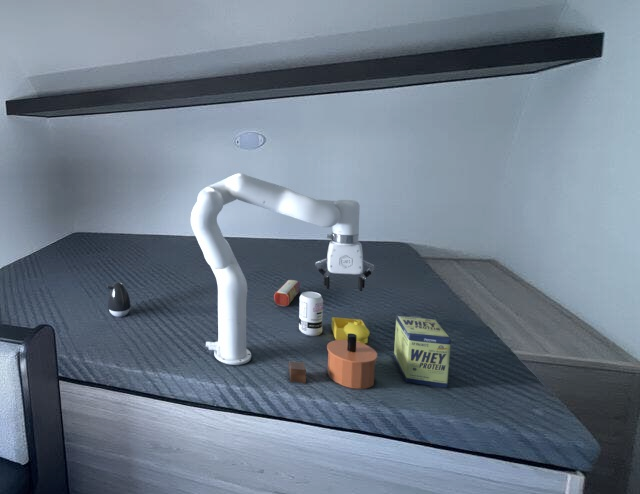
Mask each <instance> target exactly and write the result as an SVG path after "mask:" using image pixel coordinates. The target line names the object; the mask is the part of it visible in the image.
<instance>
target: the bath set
mask: <svg viewBox="0 0 640 494" xmlns="http://www.w3.org/2000/svg"><path fill="white" fill-rule="evenodd" d="M331 331H332V333H333V336H334V339H335V340H348V334H349V333H352V334H355V335H356V336H357V339H356V342H360V343H363V344H365V345H366V344H368V343H369V336H370V334H371V333H370V330H369V328H368V327H367V326H366V325H365V323H364V321H363V319H357V318H344V317H335V316H333V317H331Z"/></svg>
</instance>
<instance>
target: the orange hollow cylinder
mask: <svg viewBox="0 0 640 494" xmlns="http://www.w3.org/2000/svg"><path fill="white" fill-rule="evenodd" d="M327 375H328V377H329V378H330V379H331V380H332V381H333V382H335V383H336V384H338V385H341V386H343V387H346V388H349V389H354V390H355V389H356V390H365V389H369V388H371V387H373V386H374V384H375V379H376V378H375V375H376V360H375V361H373V362H371V363H352V362H348V361H344V360H341V359H339V358H337V357H335V356H333V355H332V354H331V353H329V351H328V350H327Z"/></svg>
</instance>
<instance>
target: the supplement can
mask: <svg viewBox="0 0 640 494" xmlns="http://www.w3.org/2000/svg"><path fill="white" fill-rule="evenodd" d="M298 303H299V305H298V307H299V309H298V310H299V311H298V313H299V314H298V329H299V331H300V332H301V333H302V334H304V335H307V336H314V337H315V336H319V335H321V334H322V333H323V315H324V313H323V312H324V299H323V297H322V295H321V293H318V292H316V291H303V292H301V294H300V296H299V302H298Z"/></svg>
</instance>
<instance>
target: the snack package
mask: <svg viewBox="0 0 640 494" xmlns="http://www.w3.org/2000/svg"><path fill="white" fill-rule="evenodd" d="M300 291H301V285H300V282H299V281H298V280H294V279H287V281H286V282H285V283H284V284H282V286H281V287H280V288H279V289H277V290H276V291H275V293H274V294H273V299H274V303H275V305H277V306H281V307H288V306H290V304H291V303H292V301H293V300H294V299H295V298H296V296H297V295H298V294H299V293H300Z"/></svg>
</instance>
